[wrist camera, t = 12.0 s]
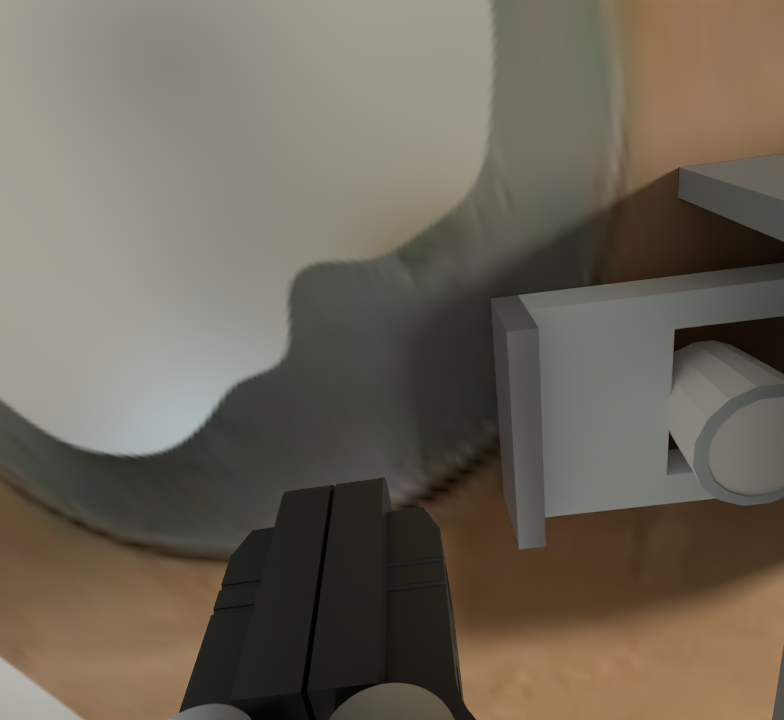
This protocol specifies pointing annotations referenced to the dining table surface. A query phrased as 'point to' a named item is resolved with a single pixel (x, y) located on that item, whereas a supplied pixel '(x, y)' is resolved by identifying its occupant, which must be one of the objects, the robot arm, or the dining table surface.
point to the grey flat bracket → (604, 389)
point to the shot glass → (729, 421)
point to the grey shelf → (748, 207)
